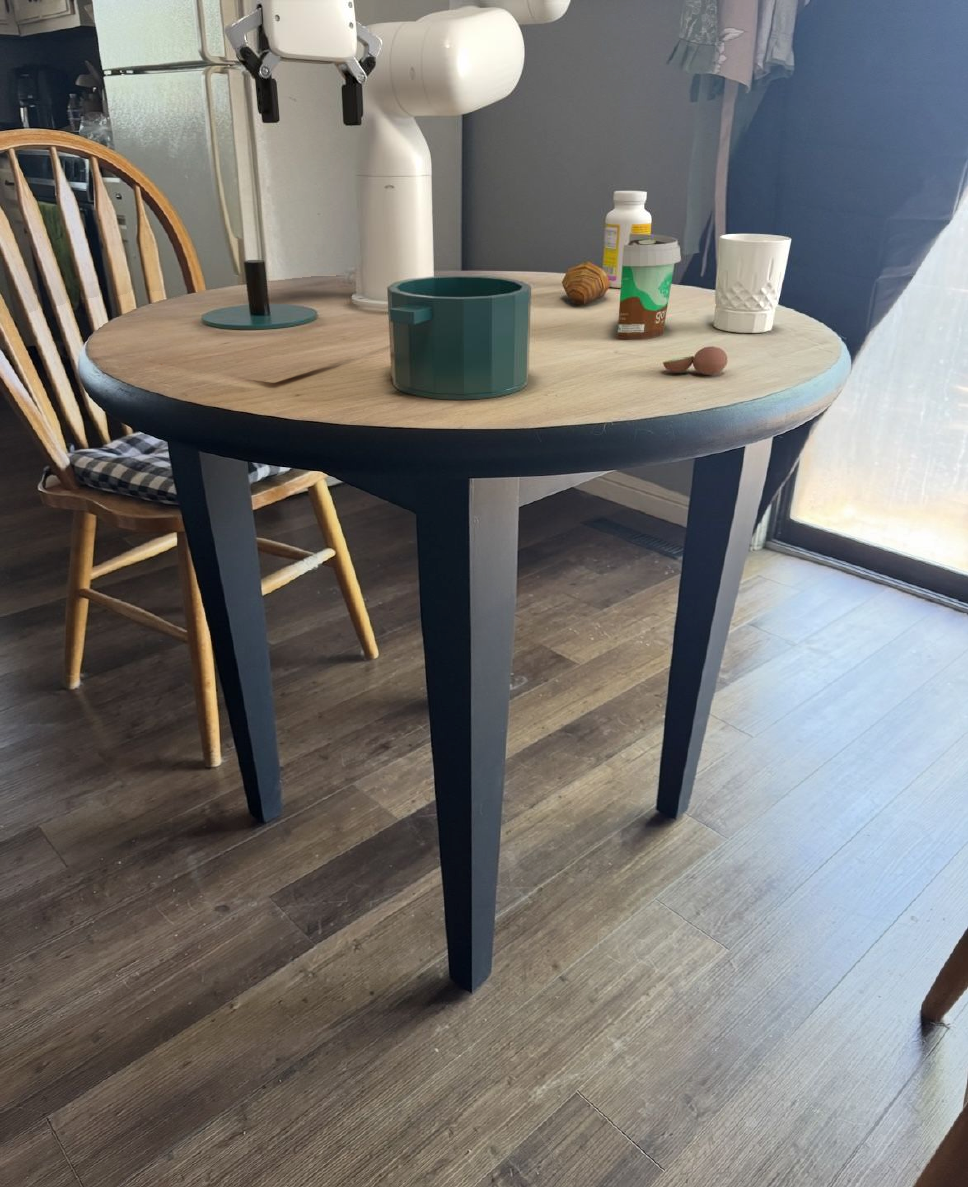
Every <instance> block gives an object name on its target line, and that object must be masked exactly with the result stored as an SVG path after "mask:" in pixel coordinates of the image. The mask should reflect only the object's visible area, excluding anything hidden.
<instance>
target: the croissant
mask: <svg viewBox="0 0 968 1187" xmlns="http://www.w3.org/2000/svg"><path fill="white" fill-rule="evenodd" d="M610 285H611V283H610V281H609V279H608V277H607V275H606V273H605V271H604V270H603V268H601V267H600V266H597V265H596V264H594V263H592V262H590V261H588V260H587V261H584V262H582V263H580V264H576V265H574V266H571V267H569V268H568V269H567V271H566V273H565V275H564V277H563V279H562V281H561V286H562V287H563V289H564V292H565V293H566V295H567V297H568V300H569V301H570V302H571V303H572V304H575V305H578V306H584V305H588V304H591V303H593V302H596V301H597V300H600V299H602V298H604V296H605V295H606V293H607V291H608V290H609V288H611V287H610Z"/></svg>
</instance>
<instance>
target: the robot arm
mask: <svg viewBox="0 0 968 1187" xmlns="http://www.w3.org/2000/svg"><path fill="white" fill-rule="evenodd" d="M570 4H571V0H449V4H448V10H441V11H437V12H432V13H429V14H427V15H424V16H422V17H420V18H418V19H417V20H416V21H410V20H408V21H393V22H392V21H391V22H390V21H388V22H378V23H372V24H368V25H365V26H364V25H363V24H362V23H361V22H359V21H358V20H357V19H356V12H355V3H354V0H251V12H249V13H247V14H246V15H244V16H241V17H240V18H239V19H237V20H235V21H233V22H232V23H229V24H228V25H226V26H225V27H224V33H225V36H226V37H227V40H228V41H229V44H230V45H231V47H232V49H233V50H234V53H235V56H236V59H237V60H238V61H239V63H241V64H242V66H243V67H244V68H245V69H246V70H247V72H248V73H249V76H250V77H251V79H253V80H254V84H255V96H256V106H257V112H258V114H259V115H261V122H262V123H263V124H277V123H278V122H280V106H279V95H278V94H279V92H278V83H277V80H276V78H273V75H272V74H273V72H274V71H275V69H276V67H277V66H278V64H279V62H286V63H301V64H314V65H332V64H333V65H334V66H335V67H336V69H337V70H338V72H339V74H340V79H341V83H342V84H341V88H340V89H341V106H342V123H343V125H344V126H345V127H346V126H347V127H350V126H351V133H352V143H353V154H354V169H355V183H356V184H355V185H356V186H355V187H356V188H355V189H356V203H357V219H358V221H357V223H358V237H359V253H360V266H356V267H346V269H345V270H344V272H343V273H341V276H340V282H342V284H347V285H354V286H355V292H354V293H353V294H352V295H351V297H350V298H351V299H350V300H351V303H352V304H354V305H356V306H360V307H364V308H370V309H371V308H372V309H383V310H385V309H386V310H388V296H387V287H388V286H390V285H391V284H393V283H394V282H398V281H402V280H407V279H413V278H422V277H432V276H435V264H434V261H435V260H434V225H433V222H434V220H433V219H434V218H433V184H432V183H433V182H432V175H433V171H432V166H433V165H432V158H431V152H430V148H429V146H428V143H427V140H426V138H425V136H424V135H423V132H422V130H421V129H420V127H419V125H418V124H417V120H416V119H415V117H430V116H431V117H433V116H435V117H437V116H438V117H439V116H440V117H441V116H444V117H446V116H448V117H449V116H452V117H453V116H460V115H466V114H469V113H471V112H472V113H473V112H475V111H477V110H480V109H483V108H485V107H487V106H490V105H491V104H494V103H496V102H499V101H501V100H503V99H505V98H506V97H508V96H509V95H510V94H511V93H512V92H513V91H514V90H515V88H516V87H517V85H518V82H519V81H520V78H521V76H522V72H523V69H524V64H525V56H526V54H525V43H524V37H523V34H522V31H521V28H520V26H521V25H523V26H525V25H539V24H549V23H552V22H555V21H557V20H558V19H561V18H562V17H563V16H564V15H565V13H566V12H567V10H568V8H569V6H570ZM251 31H252V35H253V36H252V37H253V45H254V50H255V51H253V49H252V48H251V47H250V46H249V44H248V41H247V39H246V35H247V34H248V33H249V32H251ZM255 52H256V53H255Z"/></svg>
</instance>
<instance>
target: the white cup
mask: <svg viewBox="0 0 968 1187" xmlns="http://www.w3.org/2000/svg"><path fill="white" fill-rule="evenodd" d="M718 237H719V238H718V251H717V263H716V273H715V274H716V276H715V290H714V291H715V292H714V293H715V294H714V302H715V303H714V304H715V306H714V315H713V316H714V317H713V327H714V328H716V329H717V330H721V331H725V332H730V333H740V334H758V333H759V334H761V333H767V332H771V330H772V329H773V327H774V326H773V325H774V321H775V314H776V310H777V309H776V308H777V307H778V306H779V301H780V296H781V293H782V287H783V282H784V280H785V275H786V270H787V264H788V260H789V259H788V258H789V255H790V248H791V243H792V238H791V237H790V236H785V235H778V234H777V235H776V234H767V233H761V234H760V233H729V234H721V235H720V236H718Z"/></svg>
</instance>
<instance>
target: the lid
mask: <svg viewBox="0 0 968 1187" xmlns="http://www.w3.org/2000/svg"><path fill="white" fill-rule="evenodd" d="M243 269H244V277H245V286H246V294H247V302H248V304H242V305H234V306H227V307H220V308H216V309H212V310H208V311H207V312H205V313H203V314H202V315H201V322H202V323H203V324H204V325H206V326H208V327H212V328H217V329H224V330H225V329H226V330H239V331H241V330H242V331H243V330H244V331H253V330H256V331H257V330H273V329H282V328H291V327H296V326H301V325H304V324H309V323H311V322H314V321H316V320H317V319H318V317H319V315H318V314H319V313H318V311H317V309H315V308H312V307H309V306H305V305H300V304H299V305H298V304H289V303H288V304H287V303H270V298H269V288H268V281H267V270H266V262H265V260H263V259H247V260H244V261H243Z"/></svg>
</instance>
